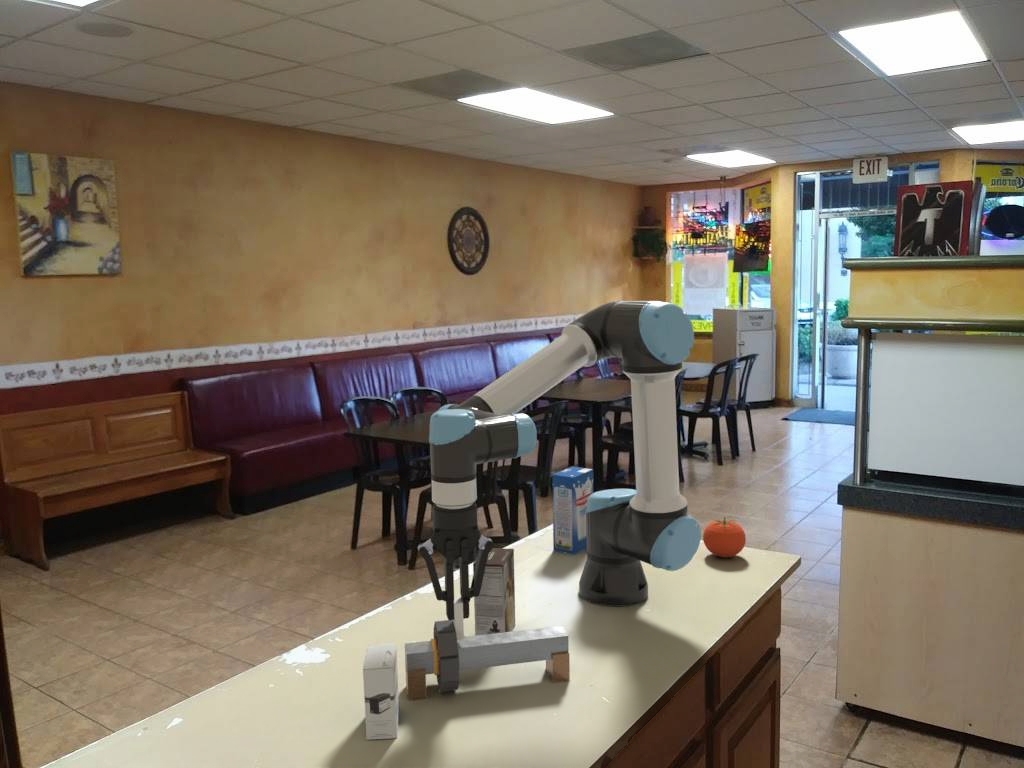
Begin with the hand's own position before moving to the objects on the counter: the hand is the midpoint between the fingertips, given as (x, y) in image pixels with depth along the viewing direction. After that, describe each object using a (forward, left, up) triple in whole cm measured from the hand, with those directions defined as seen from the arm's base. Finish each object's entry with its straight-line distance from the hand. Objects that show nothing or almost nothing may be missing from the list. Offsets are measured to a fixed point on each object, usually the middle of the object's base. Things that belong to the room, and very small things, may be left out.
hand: (458, 636), depth 137 cm
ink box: (+14, +9, -10) cm, 19 cm away
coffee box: (-10, -19, -10) cm, 23 cm away
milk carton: (-39, -63, -9) cm, 75 cm away
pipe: (-5, 0, -9) cm, 10 cm away
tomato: (-73, -47, -10) cm, 87 cm away
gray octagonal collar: (+2, 0, -9) cm, 9 cm away
